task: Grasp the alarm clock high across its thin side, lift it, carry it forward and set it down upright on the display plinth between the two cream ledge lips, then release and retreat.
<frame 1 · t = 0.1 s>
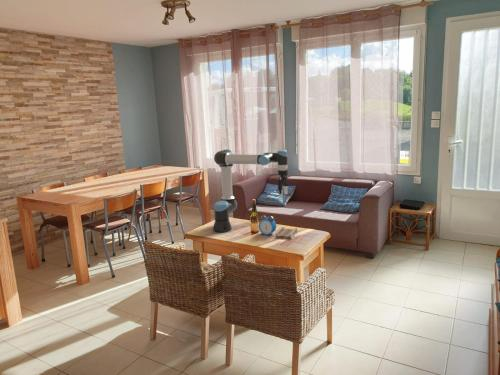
hand: (283, 195, 324), 28 cm above the table, fingers open, 13 cm apart
alarm clock: (267, 234, 319), on the table
plinth: (286, 234, 315), on the table
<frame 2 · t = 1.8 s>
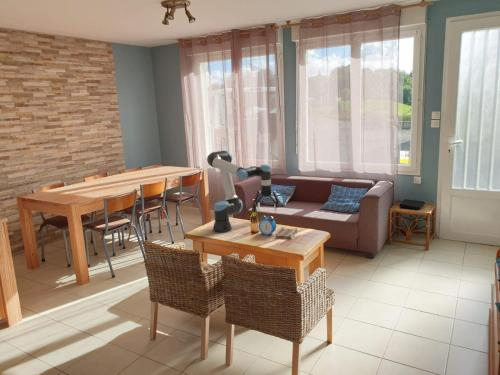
hand: (267, 211, 315), 19 cm above the table, fingers open, 13 cm apart
nothing on the table moved.
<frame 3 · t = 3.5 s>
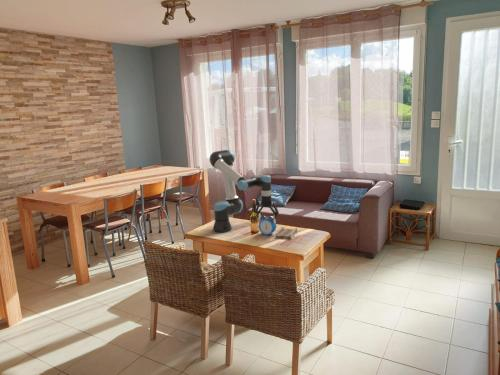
hand: (267, 222, 317), 10 cm above the table, fingers closed on alarm clock, 12 cm apart
alarm clock: (267, 234, 319), on the table, touching gripper
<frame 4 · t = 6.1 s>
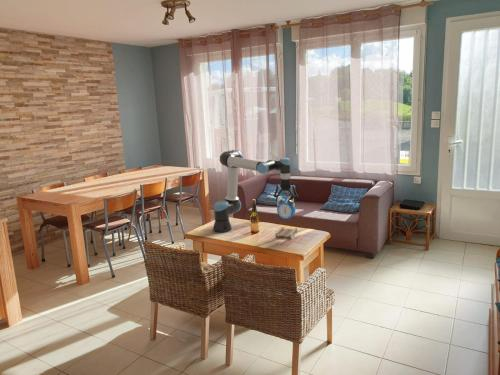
hand: (286, 206, 311), 23 cm above the table, fingers closed on alarm clock, 12 cm apart
alarm clock: (286, 218, 312), point 13 cm above the table, touching gripper
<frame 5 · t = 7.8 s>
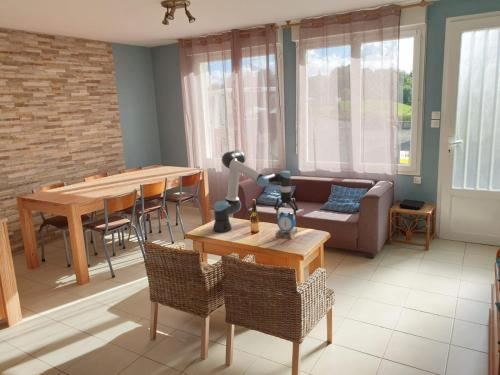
hand: (286, 218, 313), 13 cm above the table, fingers closed on alarm clock, 11 cm apart
alarm clock: (286, 231, 315), point 3 cm above the table, touching gripper
when the fingers open (13 cm above the table, at t = 8.9 s): alarm clock stays where it is, resting on plinth.
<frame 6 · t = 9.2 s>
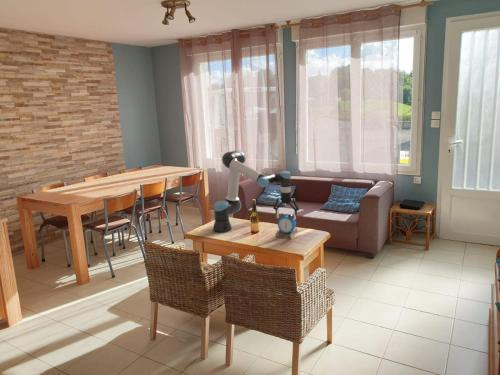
hand: (286, 218, 313), 13 cm above the table, fingers open, 13 cm apart
alarm clock: (287, 232, 315), point 2 cm above the table, touching plinth
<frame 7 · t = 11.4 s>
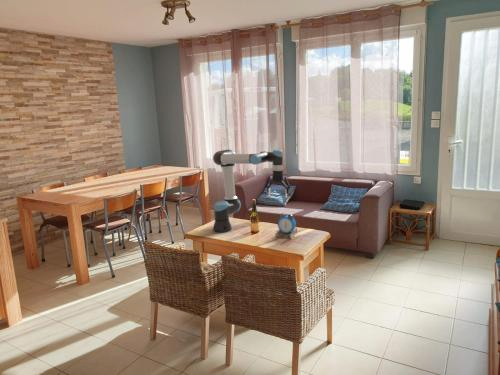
hand: (277, 197, 314), 29 cm above the table, fingers open, 13 cm apart
nothing on the table moved.
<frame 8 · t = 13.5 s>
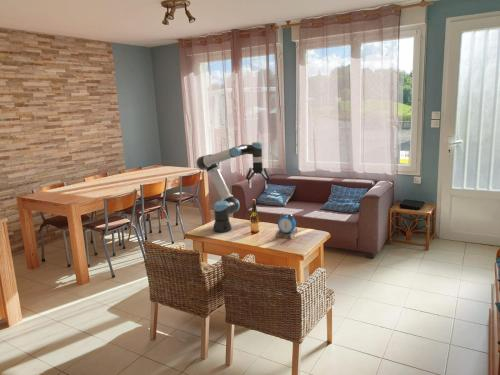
hand: (258, 188, 324), 35 cm above the table, fingers open, 13 cm apart
nothing on the table moved.
at the end: alarm clock inside the target area on the plinth (0.4 cm from its centre), point 1.8 cm above the plinth's base; alarm clock tilted 0°; the gripper is holding nothing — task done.
